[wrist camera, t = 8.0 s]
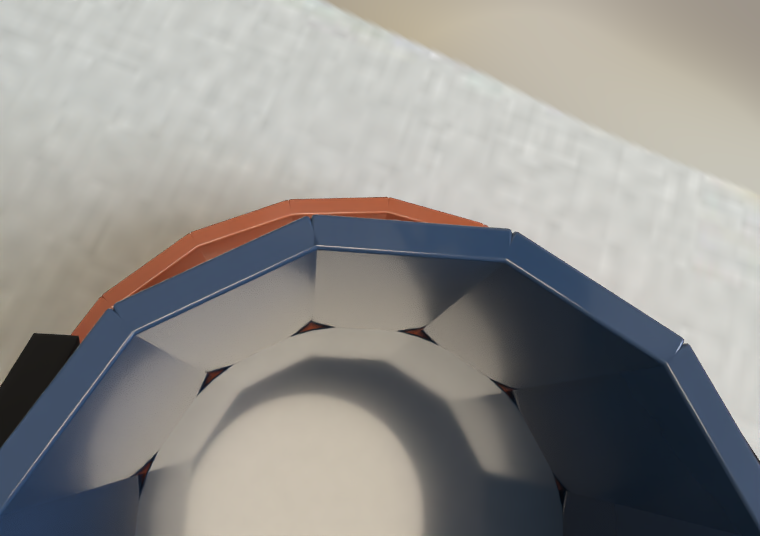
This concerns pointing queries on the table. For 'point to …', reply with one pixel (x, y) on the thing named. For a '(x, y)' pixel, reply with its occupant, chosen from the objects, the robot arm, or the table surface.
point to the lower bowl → (248, 228)
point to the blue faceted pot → (379, 401)
